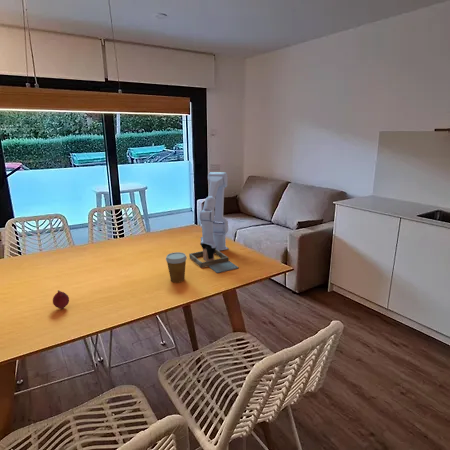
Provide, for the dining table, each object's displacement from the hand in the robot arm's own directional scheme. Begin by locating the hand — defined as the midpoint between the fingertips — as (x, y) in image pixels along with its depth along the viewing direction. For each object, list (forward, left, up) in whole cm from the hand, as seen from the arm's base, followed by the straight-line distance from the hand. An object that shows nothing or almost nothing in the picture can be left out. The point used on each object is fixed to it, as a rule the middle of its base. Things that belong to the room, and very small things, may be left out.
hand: (208, 257), depth 182 cm
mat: (+13, +2, -2) cm, 13 cm away
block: (0, 0, -2) cm, 2 cm away
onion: (+17, -72, -2) cm, 74 cm away
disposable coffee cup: (+15, -23, -2) cm, 28 cm away
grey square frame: (0, 0, -2) cm, 2 cm away
